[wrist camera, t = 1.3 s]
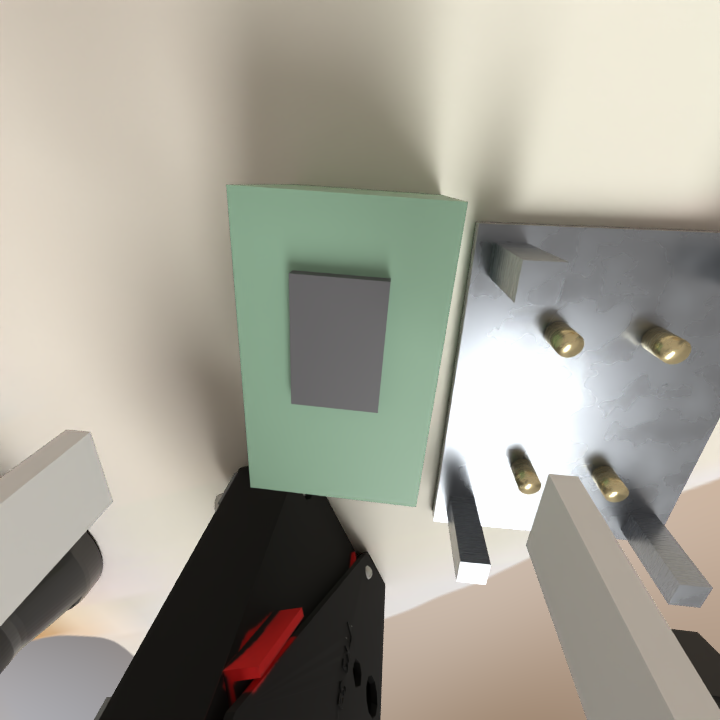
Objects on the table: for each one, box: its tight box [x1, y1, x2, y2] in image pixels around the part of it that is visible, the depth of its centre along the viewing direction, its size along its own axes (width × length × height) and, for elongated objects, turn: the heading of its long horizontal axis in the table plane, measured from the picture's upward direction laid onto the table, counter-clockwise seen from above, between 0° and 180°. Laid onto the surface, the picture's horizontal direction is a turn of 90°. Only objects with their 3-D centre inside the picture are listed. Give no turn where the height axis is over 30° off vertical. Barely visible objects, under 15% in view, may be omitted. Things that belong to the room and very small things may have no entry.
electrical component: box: [94, 466, 385, 720], centre depth 27 cm, size 18×10×20 cm, turn 21°
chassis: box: [433, 222, 720, 608], centre depth 24 cm, size 18×24×7 cm
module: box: [226, 184, 468, 507], centre depth 21 cm, size 9×15×11 cm, turn 176°
